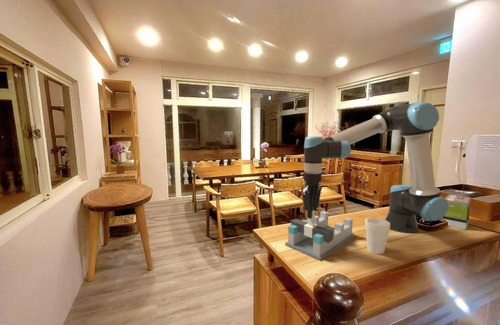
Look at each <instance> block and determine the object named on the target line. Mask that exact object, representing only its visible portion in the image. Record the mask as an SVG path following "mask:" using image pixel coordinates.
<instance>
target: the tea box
mask: <svg viewBox="0 0 500 325" xmlns="http://www.w3.org/2000/svg"><path fill="white" fill-rule="evenodd" d="M444 198H445V199H446V200H447V201H448V204H449V207H448V211H447V213H446V214H445V215H444V216H443V217H442V220H443V219H444V220H446V221H447V222H448V227H450V226H451V227H452V228H456V229H460V230H465V231H466V230H467V227H468V225H469V222H470V214H471V201H472V198H471V197H470V196H462V195H455V194H454V195H453V194H448V195H447V196H446V197H444Z"/></svg>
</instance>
